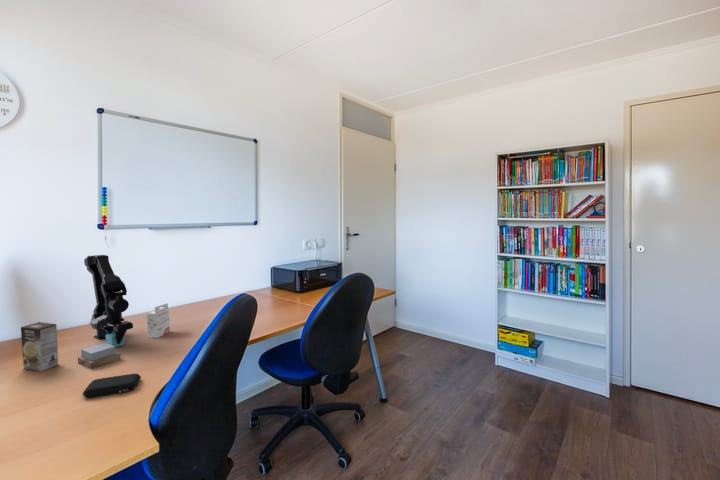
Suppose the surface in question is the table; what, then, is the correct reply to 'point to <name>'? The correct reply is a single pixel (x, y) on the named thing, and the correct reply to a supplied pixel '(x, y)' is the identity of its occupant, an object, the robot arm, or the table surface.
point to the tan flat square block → (98, 361)
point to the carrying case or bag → (112, 385)
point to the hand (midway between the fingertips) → (115, 342)
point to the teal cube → (113, 340)
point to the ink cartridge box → (158, 321)
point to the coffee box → (39, 346)
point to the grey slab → (98, 351)
